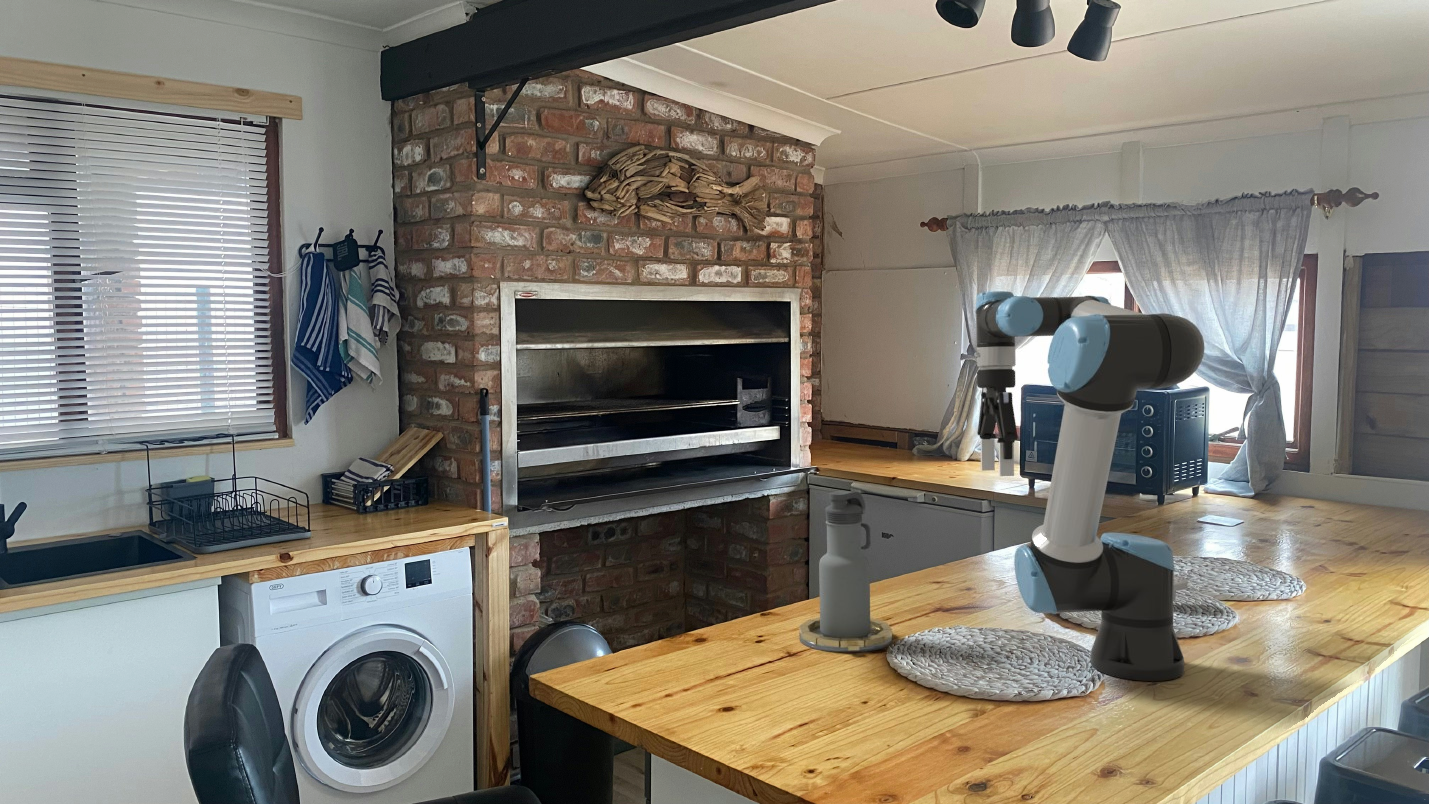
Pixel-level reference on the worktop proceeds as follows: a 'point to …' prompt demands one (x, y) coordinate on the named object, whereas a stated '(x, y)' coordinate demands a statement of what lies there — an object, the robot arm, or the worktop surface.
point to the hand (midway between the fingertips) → (996, 473)
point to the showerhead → (1179, 584)
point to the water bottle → (845, 570)
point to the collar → (816, 640)
